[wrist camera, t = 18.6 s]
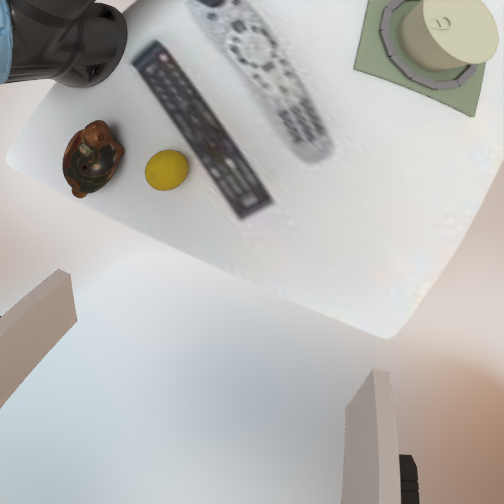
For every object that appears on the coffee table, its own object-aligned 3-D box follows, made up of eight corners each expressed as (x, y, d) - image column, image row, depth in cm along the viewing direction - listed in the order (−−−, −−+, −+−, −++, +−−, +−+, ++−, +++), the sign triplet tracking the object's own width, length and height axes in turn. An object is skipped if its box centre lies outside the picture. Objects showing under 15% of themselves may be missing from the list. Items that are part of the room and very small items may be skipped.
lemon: (194, 184, 46) (172, 200, 39) (161, 179, 47) (135, 194, 40) (197, 148, 44) (174, 157, 37) (163, 144, 45) (135, 153, 37)
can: (386, 14, 29) (408, -16, 19) (444, 7, 26) (480, -18, 16) (411, 77, 32) (444, 68, 22) (468, 68, 29) (512, 61, 19)
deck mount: (353, 69, 35) (355, 66, 33) (373, -27, 27) (376, -34, 25) (471, 116, 33) (478, 118, 31) (488, 23, 26) (495, 20, 23)
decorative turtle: (143, 126, 44) (114, 138, 37) (113, 202, 52) (86, 222, 45) (98, 101, 43) (66, 109, 36) (74, 175, 51) (45, 192, 44)
